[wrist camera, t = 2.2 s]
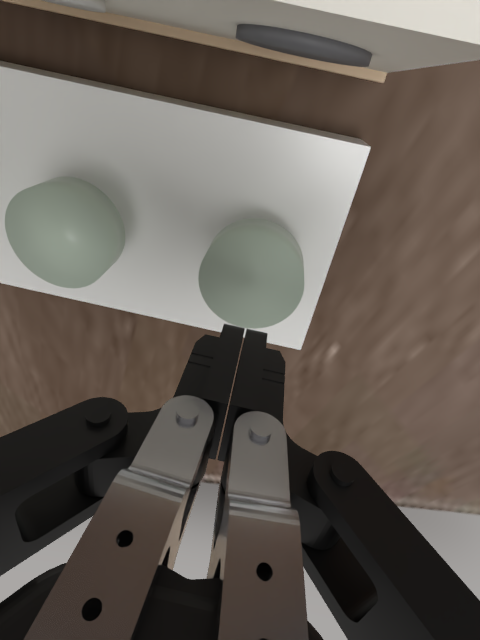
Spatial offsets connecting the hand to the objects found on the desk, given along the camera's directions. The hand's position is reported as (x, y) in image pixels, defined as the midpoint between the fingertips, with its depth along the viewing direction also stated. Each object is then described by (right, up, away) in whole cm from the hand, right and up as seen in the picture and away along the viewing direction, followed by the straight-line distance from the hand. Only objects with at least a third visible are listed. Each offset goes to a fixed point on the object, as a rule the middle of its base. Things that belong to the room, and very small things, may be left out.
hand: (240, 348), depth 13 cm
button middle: (-8, +6, +6) cm, 11 cm away
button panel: (-7, +8, +10) cm, 15 cm away
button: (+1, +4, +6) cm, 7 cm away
